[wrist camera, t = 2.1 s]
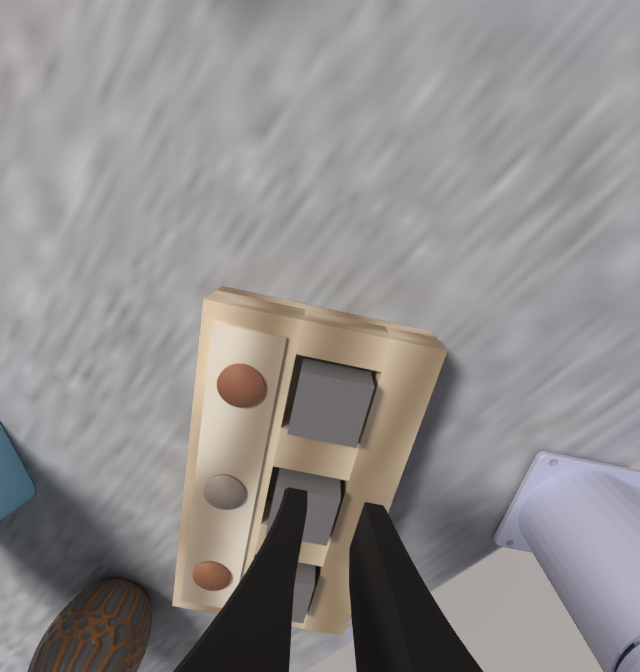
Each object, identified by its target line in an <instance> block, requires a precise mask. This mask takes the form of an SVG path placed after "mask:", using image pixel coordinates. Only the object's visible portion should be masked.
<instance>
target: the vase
mask: <svg viewBox="0 0 640 672" xmlns="http://www.w3.org/2000/svg"><path fill="white" fill-rule="evenodd" d="M151 626H152V613H151V607H150V603H149V601H148V598H147V596H146V594H145V592H144V591H143V590H142V589H141V588H140V587H139V586H138V585H136V584H134V583H132V582H130V581H127V580H123V579H111V580H107V581H103V582H101V583H98V584H95V585H93V586H91V587H89V588H88V589H86V590H84V591H83V592H81V593H80V594H79V595H78V596H76V597H75V598H74V599H73V600H72V601H71V602H70V603H69V604H68V605H67V606H66V607H65V608H64V609H63V610H62V611H61V612H60V613H59V615H58V616H57V617H56V618H55V620H54V621H53V623H52V624H51V625H50V627H49V628H48V630H47V631H46V633H45V634H44V636H43V637H42V639H41V641H40V643H39V645H38V647H37V649H36V651H35V653H34V656H33V658H32V660H31V663H30V666H29V669H28V672H137V671H138V669H139V666H140V664H141V662H142V659H143V657H144V654H145V651H146V648H147V646H148V642H149V638H150V633H151Z"/></svg>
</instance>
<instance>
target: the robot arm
mask: <svg viewBox="0 0 640 672" xmlns="http://www.w3.org/2000/svg"><path fill="white" fill-rule="evenodd" d="M553 459H554V460H553ZM551 460H553V461H551ZM550 461H551V462H550ZM307 493H308V491H306V490H301V489H295V488H290V487H288V488H286V489H284V494H283V498H282V501H281V505H280V507H279V510H278V512H277V515H276V517H275V519H274V522H273V524H272V526H271V528H270V530H269V532H268V534H267V536H266V538H265V540H264V542H263V544H262V545H261V547H260V549H259V551H258V553H257V554H256V556H255V558H254V559H253V561H252V563H251V565H250V566H249V568H248V570H247V571H246V573H245V575H244V576H243V578H242V579H241V581H240V582H239V584H238V586H237V587H236V589H235V590H234V592H233V593H232V595H231V596H230V597H229V599H228V600H227V602H226V603H225V605H224V606H223V608H222V609H221V610H220V612H219V613H218V615H217V616H216V617H215V619H214V620H213V621H212V623H211V624H210V626H209V627H208V628H207V630H206V631H205V632H204V634H203V635H202V636H201V638H200V639H199V640H198V641H197V643H196V644H195V645H194V647H193V648H192V649H191V650H190V652H189V653H188V654H187V655H186V656H185V658H184V659H183V660H182V661H181V663H180V664H179V665H178V666H177V667H176V669H175V670H174V671H173V672H289V660H290V642H291V625H292V611H293V596H294V586H295V578H296V571H297V566H298V560H299V554H300V549H301V543H302V537H303V532H304V526H305V520H306V515H307ZM494 541H495V543H496V544H497V545H498V546H501V547H507V548H512V549H517V550H523V551H529V552H533V554H534V555H535V557H536V559H537V560H538V562H539V564H540V565H541V567H542V568H543V571H544V572H545V574H546V575H547V577H548V579H549V580H550V582H551V584H552V586H553V587H554V589H555V591H556V592H557V594H558V596H559V597H560V599H561V601H562V602H563V604H564V606H565V607H566V609H567V611H568V612H569V614H570V616H571V618H572V619H573V621H574V623H575V624H576V626H577V628H578V629H579V631H580V633H581V634H582V636H583V638H584V639H585V641H586V642H587V644H588V646H589V648H590V649H591V651H592V653H593V654H594V656H595V658H596V659H597V660H598V662H599V664H600V666H601V668H602V669H603V671H604V672H640V470H635V469H631V468H626V467H621V466H616V465H611V464H606V463H602V462H597V461H592V460H587V459H582V458H577V457H572V456H567V455H562V454H557V453H552V452H547V451H542V452H539V453H538V454H537V455H536V456H535V458H534V460H533V462H532V464H531V466H530V468H529V470H528V472H527V474H526V475H525V477H524V479H523V481H522V483H521V485H520V487H519V489H518V491H517V493H516V495H515V497H514V499H513V501H512V502H511V504H510V506H509V508H508V510H507V512H506V514H505V516H504V518H503V520H502V522H501V524H500V526H499V528H498V529H497V531H496V533H495V535H494ZM349 591H350V603H351V615H352V626H353V636H354V647H355V657H356V669H357V672H483V671H482V669H481V668H480V667H479V665H478V664H477V663H476V661H475V660H474V658H473V657H472V656H471V655H470V653H469V652H468V650H467V649H466V647H465V646H464V644H463V643H462V641H461V640H460V639H459V637H458V636H457V634H456V633H455V631H454V630H453V628H452V627H451V625H450V624H449V622H448V621H447V619H446V617H445V616H444V614H443V613H442V611H441V610H440V608H439V606H438V605H437V603H436V602H435V600H434V598H433V597H432V595H431V593H430V592H429V590H428V588H427V586H426V585H425V583H424V581H423V580H422V578H421V576H420V574H419V572H418V571H417V569H416V567H415V565H414V563H413V562H412V560H411V558H410V556H409V554H408V552H407V551H406V549H405V547H404V545H403V543H402V541H401V539H400V537H399V535H398V533H397V531H396V529H395V527H394V525H393V523H392V521H391V519H390V517H389V515H388V513H387V511H386V509H385V507H384V506H383V505H379V504H374V503H369V502H364V506H363V509H362V512H361V515H360V518H359V521H358V524H357V527H356V530H355V533H354V536H353V539H352V542H351V545H350V548H349Z"/></svg>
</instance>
